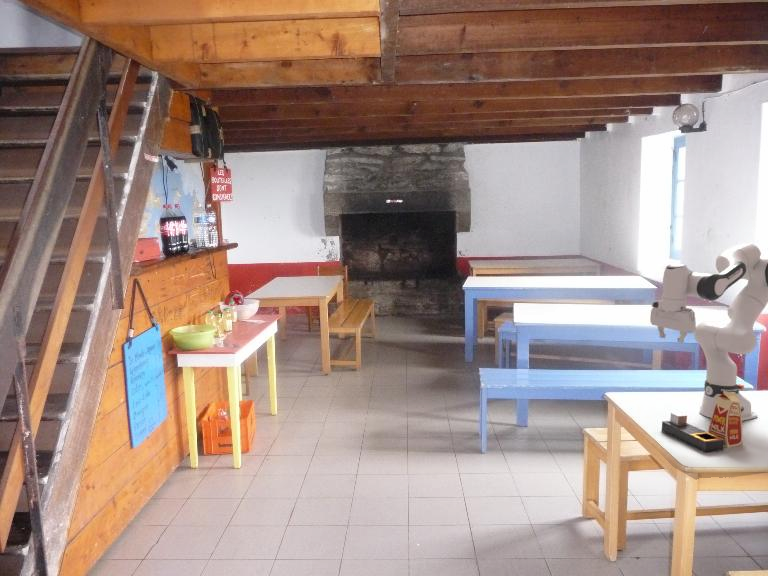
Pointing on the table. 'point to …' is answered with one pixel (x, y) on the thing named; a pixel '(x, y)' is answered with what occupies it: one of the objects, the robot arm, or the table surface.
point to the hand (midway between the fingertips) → (671, 340)
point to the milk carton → (727, 420)
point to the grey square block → (678, 419)
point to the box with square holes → (694, 437)
